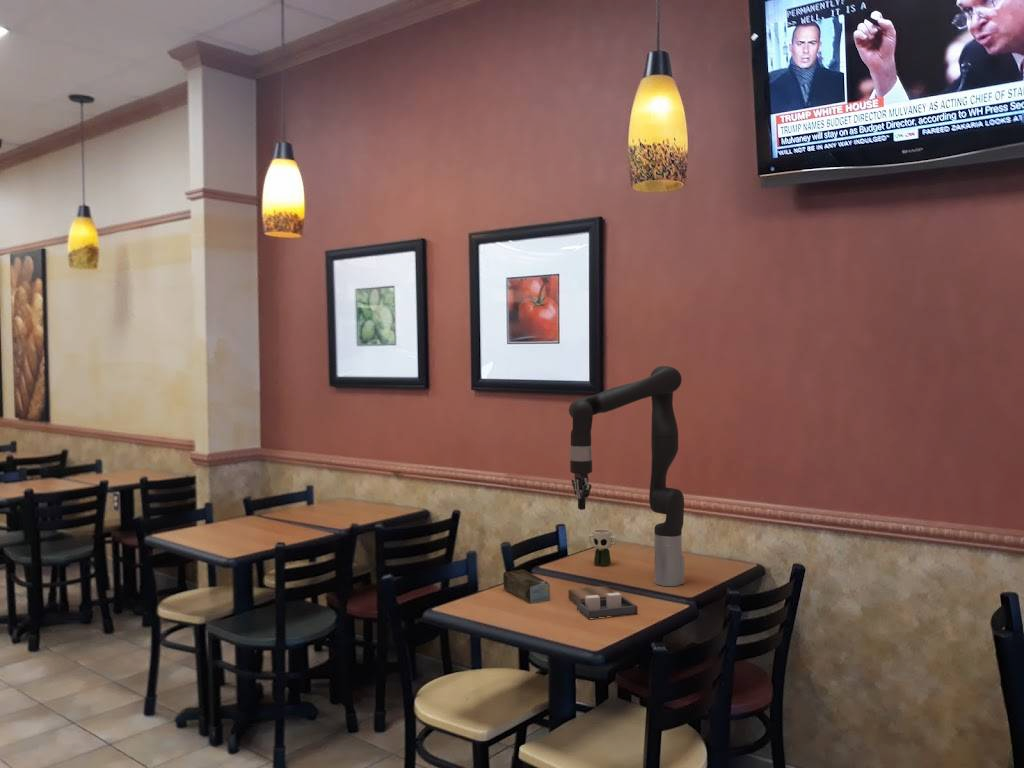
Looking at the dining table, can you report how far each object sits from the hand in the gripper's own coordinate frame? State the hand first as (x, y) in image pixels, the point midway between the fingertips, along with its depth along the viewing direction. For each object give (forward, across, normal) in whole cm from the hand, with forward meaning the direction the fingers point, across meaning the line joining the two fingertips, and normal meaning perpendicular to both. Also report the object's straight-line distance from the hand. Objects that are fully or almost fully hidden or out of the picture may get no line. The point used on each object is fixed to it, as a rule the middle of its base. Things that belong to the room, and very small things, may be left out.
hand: (581, 509), depth 279 cm
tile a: (+24, -23, -1) cm, 34 cm away
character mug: (+27, +25, -18) cm, 41 cm away
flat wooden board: (+27, -16, +2) cm, 31 cm away
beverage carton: (+28, -1, +21) cm, 34 cm away
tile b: (+24, -24, +6) cm, 35 cm away
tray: (+27, -27, +2) cm, 38 cm away
